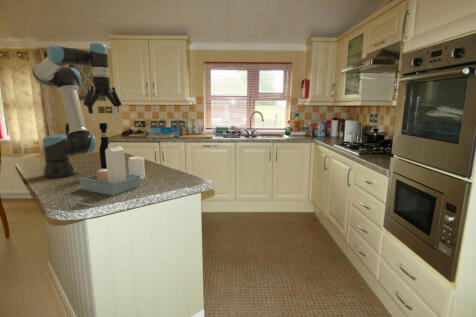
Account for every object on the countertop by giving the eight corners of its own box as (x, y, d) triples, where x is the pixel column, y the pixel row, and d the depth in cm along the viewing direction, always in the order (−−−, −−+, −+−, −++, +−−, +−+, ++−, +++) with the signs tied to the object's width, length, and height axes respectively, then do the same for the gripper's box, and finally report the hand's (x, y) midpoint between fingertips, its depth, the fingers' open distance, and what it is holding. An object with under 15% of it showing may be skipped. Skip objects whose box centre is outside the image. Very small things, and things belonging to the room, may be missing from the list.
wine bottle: (106, 176, 154) (101, 123, 148) (99, 175, 157) (94, 123, 152) (116, 174, 159) (111, 123, 154) (109, 173, 163) (105, 122, 157)
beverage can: (140, 181, 145) (138, 159, 143) (126, 180, 147) (124, 158, 145) (147, 177, 153) (146, 156, 151) (135, 176, 155) (133, 155, 152)
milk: (108, 189, 129) (103, 143, 125) (120, 186, 134) (116, 142, 130) (116, 191, 126) (111, 144, 122) (127, 188, 131) (123, 142, 127)
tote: (79, 190, 130) (78, 178, 129) (109, 181, 144) (108, 170, 143) (113, 197, 120) (111, 183, 119) (140, 187, 135) (139, 175, 134)
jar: (95, 187, 132) (93, 171, 131) (100, 183, 138) (98, 168, 136) (107, 187, 133) (106, 171, 131) (112, 183, 139) (111, 168, 137)
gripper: (82, 73, 123) (87, 121, 127) (126, 78, 145) (129, 118, 149) (71, 74, 126) (77, 120, 130) (116, 79, 148) (119, 118, 152)
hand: (105, 119), depth 140 cm, fingers open, 13 cm apart
